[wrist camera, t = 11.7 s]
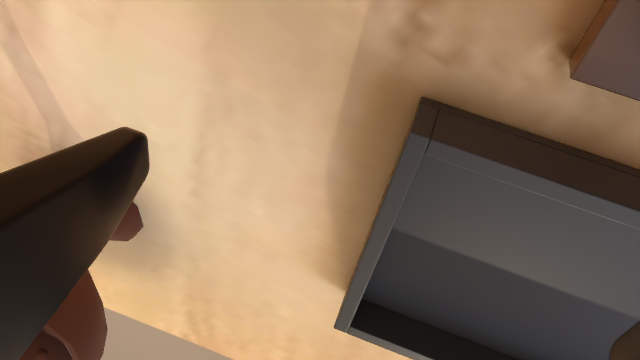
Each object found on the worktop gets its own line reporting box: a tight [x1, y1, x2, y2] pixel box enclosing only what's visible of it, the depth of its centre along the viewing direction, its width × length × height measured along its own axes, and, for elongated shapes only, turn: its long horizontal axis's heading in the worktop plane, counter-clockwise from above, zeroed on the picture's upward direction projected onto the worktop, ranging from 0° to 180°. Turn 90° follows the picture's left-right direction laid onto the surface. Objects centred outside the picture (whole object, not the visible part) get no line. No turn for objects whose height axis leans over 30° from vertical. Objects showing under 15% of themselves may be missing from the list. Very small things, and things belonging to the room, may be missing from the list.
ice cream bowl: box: [19, 202, 143, 360], centre depth 28 cm, size 11×11×15 cm
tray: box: [334, 97, 640, 360], centre depth 24 cm, size 18×15×2 cm
